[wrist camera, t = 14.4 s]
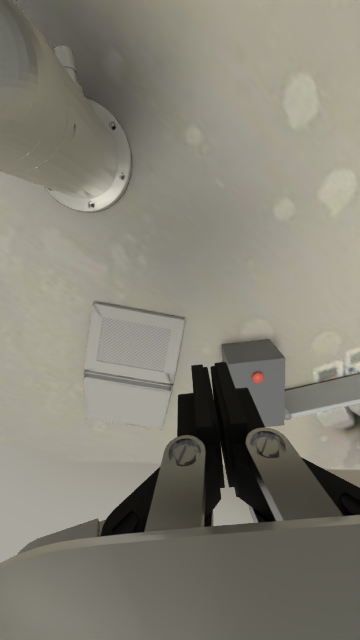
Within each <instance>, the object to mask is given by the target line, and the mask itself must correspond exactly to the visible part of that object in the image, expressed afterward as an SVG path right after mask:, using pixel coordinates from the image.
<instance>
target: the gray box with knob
mask: <svg viewBox="0 0 360 640" xmlns="http://www.w3.org/2000/svg"><path fill="white" fill-rule="evenodd" d="M222 358H223V362H226V363H227V366H228V369H229V371H230V374H231V377H232V380H233V383H234V386H235V388H246V387H247V388H248V389H249V391H250V394H251V396H252V398H253V401H254V403H255V405H256V407H257V410H258V412H259V414H260V417H261V419H262V421H263V423H264V426H265V427H271V426H281V425H284V403H285V357H284V356H283V355H282V354H281V352H280V351H279V350H278V349H277V348H276V346H275V345H274V344H273V343H272V342H271V341H270V339H267V340H259V341H250V342H241V343H233V344H224V345H222Z"/></svg>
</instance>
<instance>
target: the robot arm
mask: <svg viewBox="0 0 360 640" xmlns="http://www.w3.org/2000/svg"><path fill="white" fill-rule="evenodd" d="M53 51H54V52H53ZM53 51H52V49H51V48H50V46H49V45H48V44H47V42H46V41H45V39H44V38H43V36H42V35H41V33H40V32H39V31H38V29H37V28H36V27H35V25H34V24H33V23H32V21H31V20H30V19H29V18H28V16H27V15H26V14H25V13H24V12H23V11H22V10H21V8H20V7H19V6H18V5H17V4H16V3H15V2H14V1H12V0H0V171H1V172H4V173H7V174H10V175H13V176H16V177H18V178H21V179H24V180H27V181H30V182H33V183H35V184H38V185H41V186H44V188H45V189H46V190H47V192H48V193H49V194H50V195H51V196H52V197H53V198H54V199H55V200H57V201H58V202H60V203H61V204H63V205H64V206H66V207H68V208H71V209H73V210H77V211H81V212H98V211H101V210H104V209H107V208H108V207H110V206H112V205H113V204H114V203H115V202H116V201H118V200H119V199H120V197H121V196H122V194H123V193H124V192H125V190H126V187H127V185H128V183H129V179H130V175H131V166H132V161H131V151H130V147H129V143H128V140H127V138H126V136H125V133H124V131H123V130H122V128H121V126H120V124H119V123H118V121H117V120H116V119H115V118H114V116H113V115H112V114H111V113H110V112H109V111H108V110H107V109H106V108H105V107H103V106H102V105H100V104H98V103H97V102H95V101H93V100H90V99H87V98H86V97H85V96H84V93H83V88H82V86H80V85H79V84H78V81H77V76H76V74H77V71H76V66H75V62H74V57H73V52H72V50H71V49H70V48H69V47H67V46H63V45H59V46H56V47H55V48H54V50H53ZM113 127H116V129H115V130H113ZM122 176H125V179H124V180H122ZM92 204H95V207H94V208H93V207H92ZM191 367H192V380H193V392H194V393H189V394H180V395H178V429H177V437H176V438H174V439H173V440H172V441H170V442H169V444H168V445H167V446H166V448H165V451H164V455H163V459H162V463H161V466H160V467H159V468H158V469H157V470H156V471H155V472H154V473H153V474H152V475H151V476H150V477H149V478H148V479H147V480H146V481H144V482H143V483H142V484H141V485H140V486H139V487H138V488H137V489H136V490H135V491H134V492H133V493H132V494H131V495H129V496H128V497H127V498H126V499H125V500H124V501H123V502H122V503H121V504H120V505H119V506H118V507H117V508H115V509H114V510H113V512H112V513H111V514H110V515H109V516H108V518H107V519H106V520H104V521H101V522H99V520H98V519H95V520H92V521H89V522H86V523H83V524H80V525H77V526H74V527H71V528H68V529H65V530H62V531H59V532H56V533H53V534H50V535H47V536H44V537H41V538H38V539H36V540H34V541H33V542H31V543H29V544H28V545H26V546H25V547H24V548H23V549H22V550H21V551H20V552H19V553H18V554H17V555H16V556H14V557H12V558H10V559H8V560H6V561H4V562H2V563H0V640H360V488H359V487H357V486H355V485H353V484H351V483H349V482H347V481H345V480H344V479H341V478H340V477H338V476H336V475H334V474H332V473H330V472H328V471H326V470H324V469H323V468H321V467H319V466H317V465H315V464H313V463H311V462H309V461H307V460H305V459H303V458H301V457H300V455H299V454H298V453H297V451H296V450H295V449H294V447H293V446H292V444H291V443H290V442H289V440H288V439H287V438H286V437H285V436H284V435H283V434H282V433H280V432H279V431H277V430H274V429H271V428H265V426H264V423H263V421H262V419H261V417H260V414H259V412H258V410H257V407H256V405H255V403H254V401H253V398H252V396H251V394H250V391H249V389H248V388H247V387H246V388H235V386H234V383H233V380H232V377H231V374H230V371H229V369H228V366H227V363H226V362H220V363H215V366H211V376H212V386H213V394H212V388H211V383H210V378H209V373H208V368H207V367H203V365H193V366H191ZM213 396H214V399H213ZM220 442H221V443H220ZM221 448H222V453H223V458H224V463H225V469H226V474H227V479H228V484H229V487H234V488H235V492H236V496H237V497H239V498H241V499H242V500H243V501H245V502H246V503H247V504H248V505H249V509H250V513H251V515H252V518H253V520H254V523H248V524H236V525H223V526H213V509H214V508H215V506H216V505H217V504H218V502H219V501H220V500H221V493H220V488H224V487H225V485H224V474H223V464H222V453H221Z"/></svg>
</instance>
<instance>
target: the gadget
mask: <svg viewBox="0 0 360 640" xmlns="http://www.w3.org/2000/svg"><path fill="white" fill-rule="evenodd" d="M185 321H186V318H183V317H178V316H172V315H167V314H161V313H156V312H150V311H145V310H139V309H134V308H128V307H123V306H117V305H112V304H107V303H101V302H96V301H93V305H92V312H91V320H90V327H89V335H88V342H87V350H86V357H85V365H84V370H85V371H84V391H85V419H92V420H98V421H105V422H111V423H118V424H125V425H131V426H138V427H144V428H151V429H157V430H162V426H163V423H164V420H165V416H166V412H167V408H168V404H169V400H170V396H171V391H172V387H173V384H172V383H174V378H175V373H176V368H177V362H178V357H179V352H180V347H181V342H182V337H183V332H184V327H185Z"/></svg>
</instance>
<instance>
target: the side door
mask: <svg viewBox="0 0 360 640" xmlns="http://www.w3.org/2000/svg"><path fill="white" fill-rule="evenodd" d="M359 403H360V374H358V375H353V376H349V377H344V378H340V379H336V380H331V381H327V382H322V383H318V384H314V385H309V386H305V387H300V388H296V389H292V390H287V391H285V403H284V419H285V420H289V419H291V418H294V417H299V416H303V415H308V414H313V413H317V412H322V411H327V410H331V409H336V408H340V407H345V406H350V405H354V404H359Z"/></svg>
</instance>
